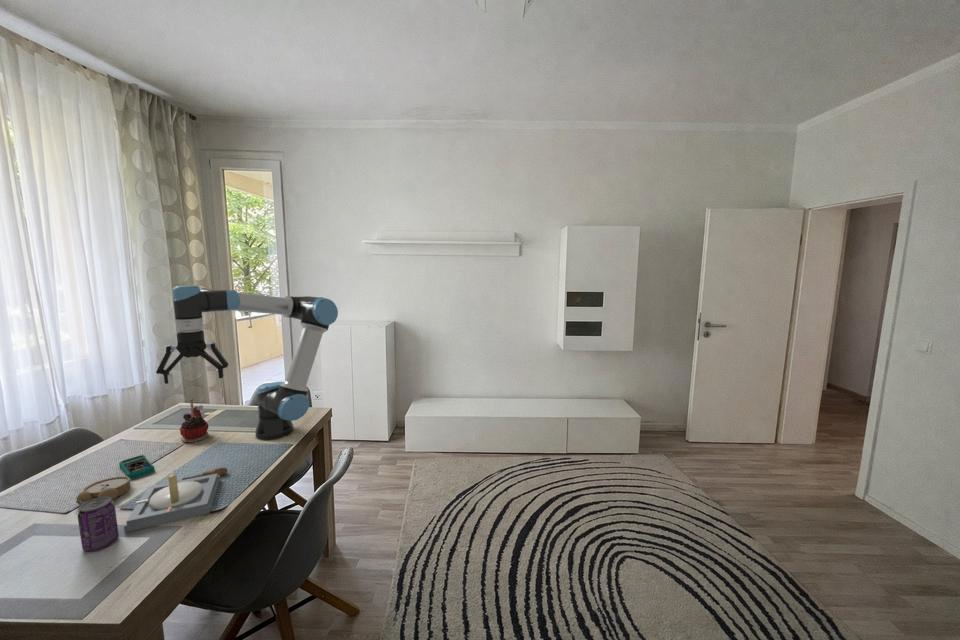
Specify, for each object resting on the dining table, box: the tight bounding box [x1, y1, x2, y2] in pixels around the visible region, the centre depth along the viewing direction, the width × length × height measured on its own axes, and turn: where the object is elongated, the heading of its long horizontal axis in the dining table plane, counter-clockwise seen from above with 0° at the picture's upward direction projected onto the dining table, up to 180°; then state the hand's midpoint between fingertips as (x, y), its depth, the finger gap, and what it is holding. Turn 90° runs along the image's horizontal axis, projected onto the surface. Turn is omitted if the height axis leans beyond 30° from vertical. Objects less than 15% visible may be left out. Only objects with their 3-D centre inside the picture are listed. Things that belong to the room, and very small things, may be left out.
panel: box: [123, 473, 221, 533], centre depth 122 cm, size 20×20×3 cm
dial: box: [150, 473, 202, 510], centre depth 121 cm, size 13×13×10 cm
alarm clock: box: [75, 476, 132, 507], centre depth 125 cm, size 11×5×15 cm
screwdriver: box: [181, 467, 228, 480], centre depth 136 cm, size 13×3×3 cm, turn 116°
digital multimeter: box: [118, 454, 156, 480], centre depth 141 cm, size 7×15×3 cm, turn 53°
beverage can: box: [77, 497, 120, 552], centre depth 103 cm, size 7×7×12 cm
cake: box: [179, 398, 209, 443], centre depth 165 cm, size 11×9×18 cm
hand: (195, 389), depth 135 cm, fingers open, 13 cm apart
